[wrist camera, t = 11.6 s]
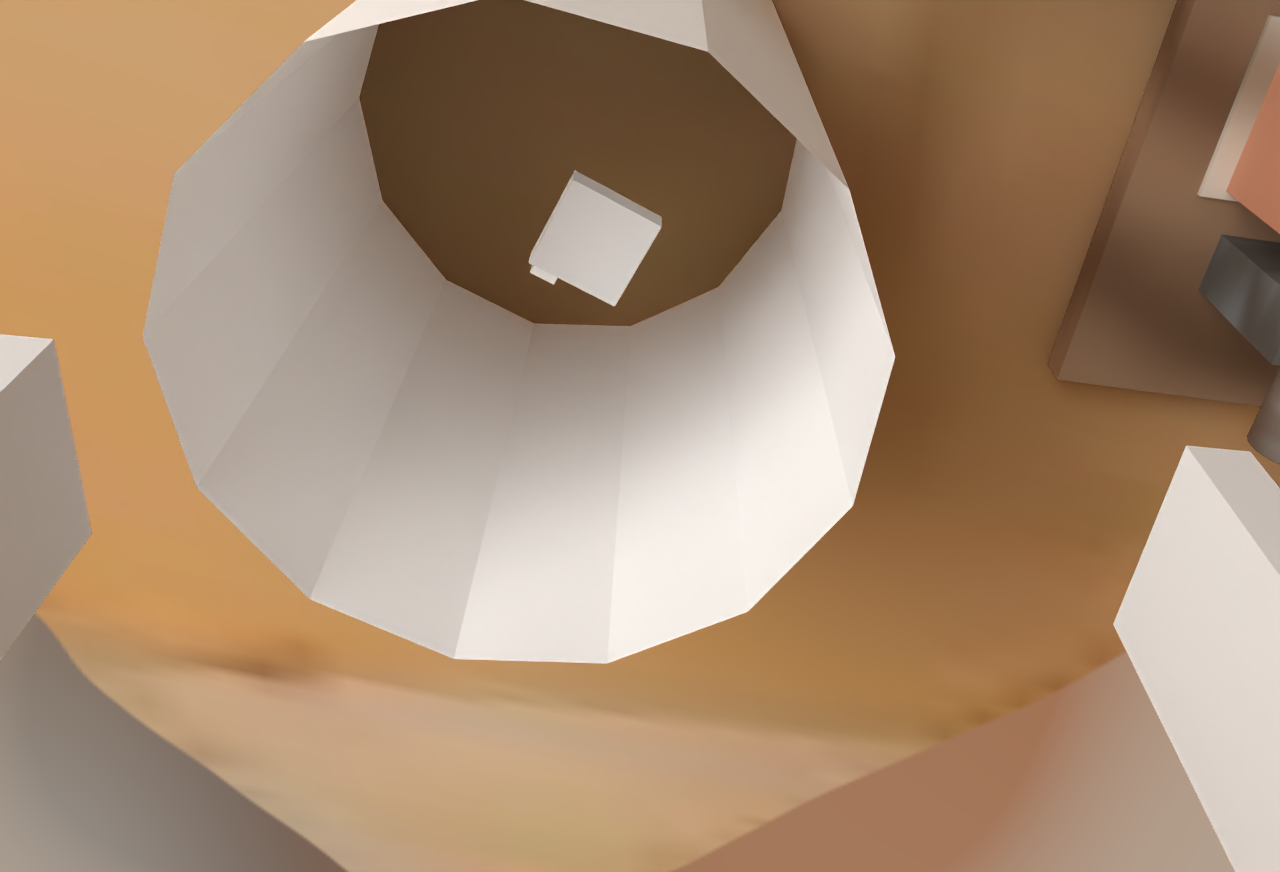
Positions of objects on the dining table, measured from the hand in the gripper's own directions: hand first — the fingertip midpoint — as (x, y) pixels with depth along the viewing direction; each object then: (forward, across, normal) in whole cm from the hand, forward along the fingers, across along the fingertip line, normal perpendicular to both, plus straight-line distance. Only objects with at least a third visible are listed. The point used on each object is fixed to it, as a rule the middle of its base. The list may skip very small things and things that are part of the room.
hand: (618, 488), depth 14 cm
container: (+26, -2, -4) cm, 27 cm away
